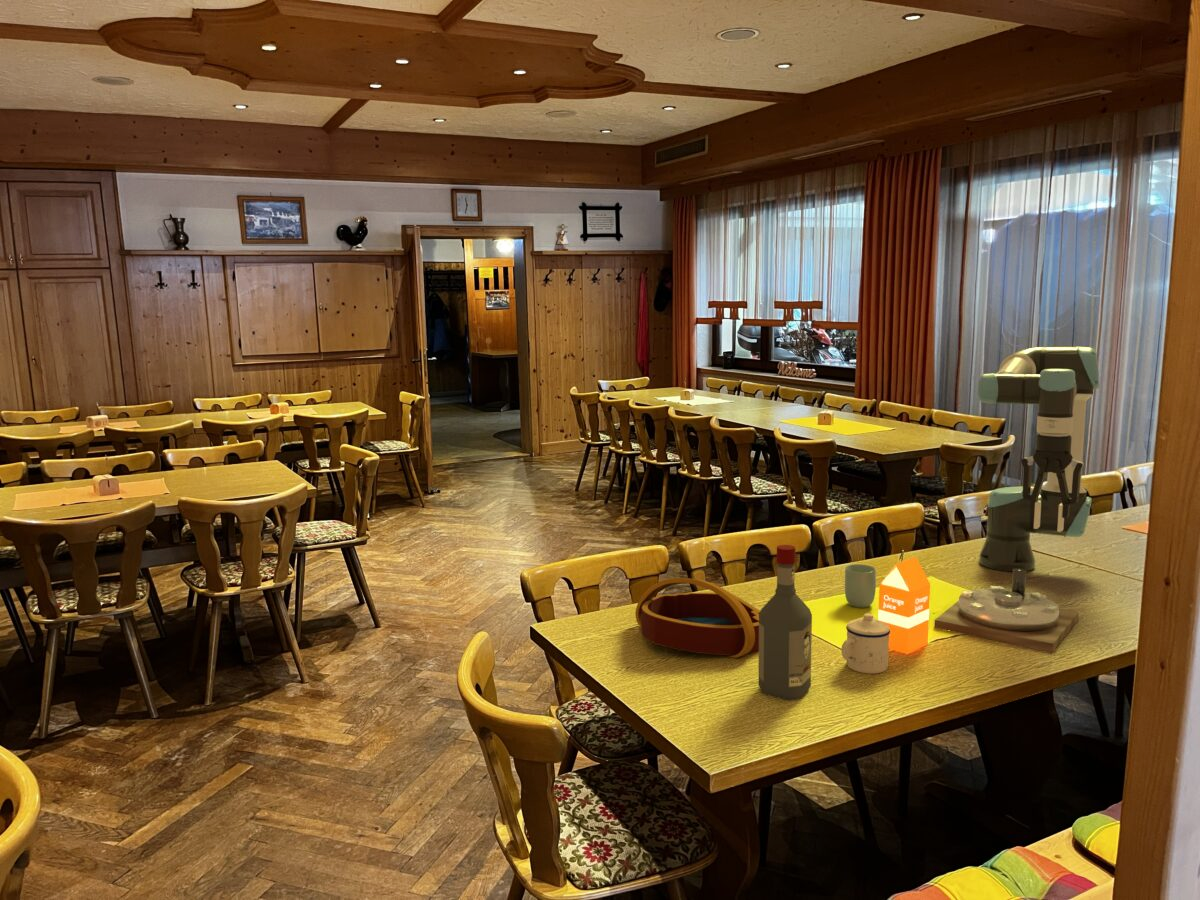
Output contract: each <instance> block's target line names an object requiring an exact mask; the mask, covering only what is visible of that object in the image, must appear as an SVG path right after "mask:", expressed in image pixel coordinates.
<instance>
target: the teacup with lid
mask: <svg viewBox="0 0 1200 900" xmlns="http://www.w3.org/2000/svg"><path fill="white" fill-rule="evenodd" d="M845 629H846V631H847V632H846V635H847V636H846V640H844V641H843V642H842V644H841V649H840V650H841V655H842V658H843V659H844V660H845V661H846V666H847V667H848V668H850V669H851V670H852V671H855V672H857V673H862V674H869V675H870V674H871V675H872V674H882V673H884V672H886V671H887V670H888V668H889V653H890V651H889V633H890V628H889V626H888V625H887V624H885V623H884V622H881V621H878V618H874V615H873V614H872V613H864V614H863V617H861V618H860V617H859V618H857V619H853V620H850V621H849V622H848V623H847V624H846V627H845Z"/></svg>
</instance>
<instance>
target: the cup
mask: <svg viewBox="0 0 1200 900" xmlns="http://www.w3.org/2000/svg"><path fill="white" fill-rule="evenodd" d="M876 589H877V569H876V567H874V566H871V565H868V564H867V565H866V564H858V563H855V564H854V563H853V564H848V565H846V566H845V568H844V596H845V600H846V602H847V603H848V604H849V606H851V607H855V608H860V609H861V608H862V609H863V608H864V609H865V608H868V607H870V606H871V605H872V604H873V602H874V601H875V595H876Z"/></svg>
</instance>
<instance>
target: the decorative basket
mask: <svg viewBox="0 0 1200 900" xmlns="http://www.w3.org/2000/svg"><path fill="white" fill-rule="evenodd" d="M682 584H690V585H695V586H699V587H701V588H705V589H707V590H709V591H711V592H691V591H690V592H686V593H674V594H668V593H667V594H664V593H663V594H660V595H658V594H659V593H660V592H661V591H663V590H665V589H666V588H669V587H671V586H675V585H682ZM636 605H637V606H636V608H635V620H636V623H637V625H638V626H639V628H640V629H641V630H640V633H641V636H642V637H643V638H644V639H645V640H647V641H648V642H650V643H651V642H652V643H654V644H655V645H659V646H662V647H667V648H670V649H675V650H679V651H685V652H689V653H690V652H691V653H696V654H697V653H698V654H706V655H725V656H727V657H729V658H736V659H737V658H739V657H742V656H744V655H747V654H750V653H755V652H757V653H758V652H759V614H760V611H761V610H760V609H758V608H757V607H755V606H753V605H752V604H751V603H749V602H747V601H746V600H744V599H742V598H741V597H738V596H737V595H735V594H733V593H731V592H730V591H728V590H726V589H724V588H723V587H722V586H720V585H717V584H715V583H713V582H711V581H706V580H702V579H698V578H687V577H685V578H684V577H674V578H668V579H664V580H661V581H658V582H656V583H654V584H652V585H651V586H650V587H649V588H647V589H646V590H645V591H644V593H643V594H642V595H641V597H640V598H639V599H638V603H637V604H636Z"/></svg>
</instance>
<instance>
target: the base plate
mask: <svg viewBox="0 0 1200 900" xmlns="http://www.w3.org/2000/svg"><path fill="white" fill-rule="evenodd" d="M1079 617H1080V612H1079V611H1075V610H1071V609H1065V608H1061V607H1059V620H1058V624H1057V625H1056V626H1054V627H1052V628H1049V629H1044V630H1036V631H1016V630H1006V629H999V628H994V627H989V626H985V625H982V624H978V623H976V622H973V621H971V620H969V619H967V618H965V617H963V616H962V615H961V614H960V613H959V600H957V601H956V602H955V603H954V604H952V605H951V606H950V607H948V608H947V609H946V610H945V611H943V612H942V613H941V614H940V615H938V616H937V617H936V618H935V619H934V626H933V627H934V629H938V628H939V629H938V630H943V629H944V630H945V631H948V630H950V631H949V632H953V633H958V634H962V635H963V634H964V635H968V636H973V637H977V638H982V639H986V640H992V641H995V642H996V641H997V642H1002V643H1007V644H1010V645H1016V646H1020V647H1025V648H1030V649H1034V650H1041V651H1045V652H1048V653H1054V652H1055V650H1056V649H1057V648H1058V646H1060V644H1061V643H1062V641H1063V640H1064V639H1065V637H1066V636H1067V635H1068V634H1069V633H1070V631H1071V630H1072V628H1073V627H1074V626H1075V625H1076V623H1077V622H1078V621H1079V620H1080V619H1079Z"/></svg>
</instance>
